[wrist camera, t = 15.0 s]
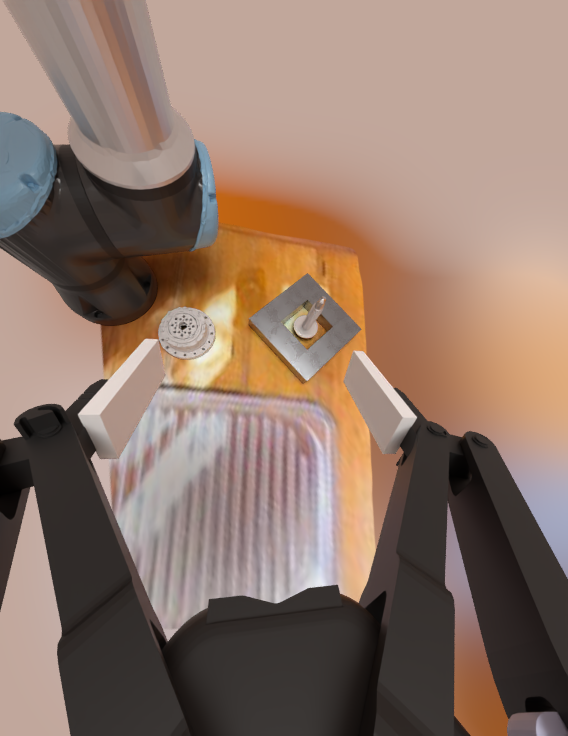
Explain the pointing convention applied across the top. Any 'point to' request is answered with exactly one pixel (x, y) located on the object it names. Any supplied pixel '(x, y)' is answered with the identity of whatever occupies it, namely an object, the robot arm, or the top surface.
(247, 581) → the top surface
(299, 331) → the screw
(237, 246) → the top surface
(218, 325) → the top surface
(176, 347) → the mechanical component
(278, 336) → the socket plate
